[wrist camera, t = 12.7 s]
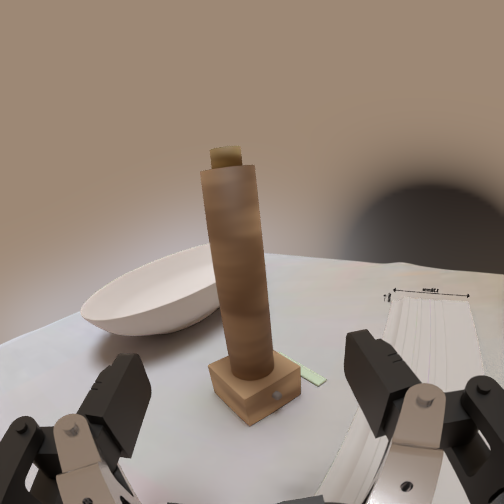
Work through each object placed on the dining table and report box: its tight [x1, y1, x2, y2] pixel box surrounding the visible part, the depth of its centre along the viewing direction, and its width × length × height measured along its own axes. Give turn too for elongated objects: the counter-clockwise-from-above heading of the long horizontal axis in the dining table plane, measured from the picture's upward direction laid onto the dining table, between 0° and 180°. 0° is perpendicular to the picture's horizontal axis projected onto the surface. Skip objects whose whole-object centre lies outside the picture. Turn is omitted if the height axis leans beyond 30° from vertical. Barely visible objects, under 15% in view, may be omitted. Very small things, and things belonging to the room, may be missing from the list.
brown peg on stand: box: [200, 146, 301, 426], centre depth 18 cm, size 5×5×18 cm
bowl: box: [81, 243, 220, 336], centre depth 36 cm, size 30×15×6 cm, turn 150°
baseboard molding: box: [314, 288, 489, 504], centre depth 17 cm, size 31×3×12 cm
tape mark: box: [278, 352, 327, 386], centre depth 23 cm, size 1×6×1 cm, turn 36°
